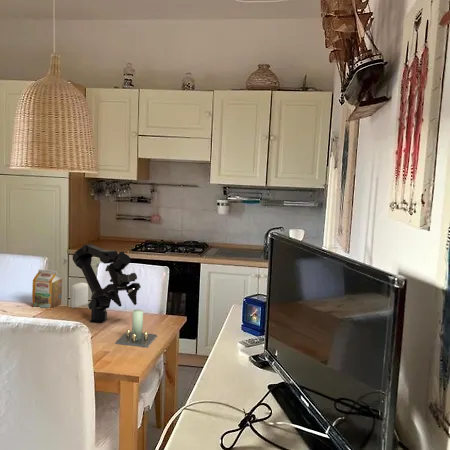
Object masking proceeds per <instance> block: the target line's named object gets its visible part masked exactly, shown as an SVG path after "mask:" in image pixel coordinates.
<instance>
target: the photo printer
mask: <svg viewBox="0 0 450 450" xmlns="http://www.w3.org/2000/svg"><path fill="white" fill-rule="evenodd" d="M69 289H70V290H69V293H70V295H69V307H70V308H73V309H75V308H78V307H81V306H86V305H88V304H89V285H88V283H87V282H76V283H74V284H72V285H71V286H70V288H69Z"/></svg>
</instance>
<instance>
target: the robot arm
mask: <svg viewBox="0 0 450 450" xmlns="http://www.w3.org/2000/svg"><path fill="white" fill-rule="evenodd" d="M93 256H94V257H96V258H99V261H100V262H101V263H102V264H109V265H106V268H105V272H108V273H109V274H108V275H109V277H110V279H109V281H110V283H109V284H107V285H106V286H105V287H102V286H101V284H100V282H99V279H98V278H97V275H96V273H95V271H94V268H93V266H92V262H93V261H92V260H93V259H92V258H93ZM72 261H73V263H74V264H75V266H76V267H78V268H79V269H80V270H81V271H82V273H83V277H84V278H85V279H86V283H87V284H88V288H89V290H90V291H91V297H90V302H88V304H87V305H88V309H89V310H91V312H90V313H91V315H90V320H89V323H97V324H98V323H99V324H103V323H105V322H106V321H107V320H108V311H107V309H109V308H110V305H111V301H113V302H114V304H116V305H117V306H118V307H122V306H123V305H122V301H121V298H120V295H119V292H120V291H121V292H122V291H123V292H124V291H125V292H126V293H127V296H128V298H129V299H130V301H131V303H132V304H133V306H136V305H137V304H138V303H137V294H138V291H140V289H141V284H140V283H139V282H136V280H138V276H137V274H136V272H131V273H129V274H126V273H123V271H124V269H126V268H127V266H129V264H131V261H132V260H131V257H130V256H129V255H128V254H127V253H125V251H119V252H118V251H116V250H115V249H114V250H113V249H111V250H110V249H105V248H101V247H99V246H98V245H95V244H92V243H89V244H86V243H85V244H84V245H83V246H82V247H81V248H79V249H77V250H76V251H75V252H74V254H73V255H72ZM131 282H132V283H131Z"/></svg>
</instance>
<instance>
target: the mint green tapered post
mask: <svg viewBox="0 0 450 450" xmlns="http://www.w3.org/2000/svg"><path fill="white" fill-rule="evenodd" d="M131 320H132V325H131V332H132V334H136V340H139V339H142V333H143V326H144V310H142V309H134V310H132V319H131Z"/></svg>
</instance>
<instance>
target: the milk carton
mask: <svg viewBox="0 0 450 450" xmlns="http://www.w3.org/2000/svg"><path fill="white" fill-rule="evenodd" d="M62 287H63V277H61V275H60V274H58V271H57V270H49V269H48V270H47V269H38V272H37V273H36V274H35V276H34V278H33V279H32V292H31V293H32V294H31V301H32V302H31V307H32V308H34V307H40V308H39V309H43V308H50V309H49V310H52V309H51V308H53V309H54V307H55V308H56V307H59V306H61V305H62V298H63V297H62V295H63V294H62V293H63V292H62V291H63V288H62Z"/></svg>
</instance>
